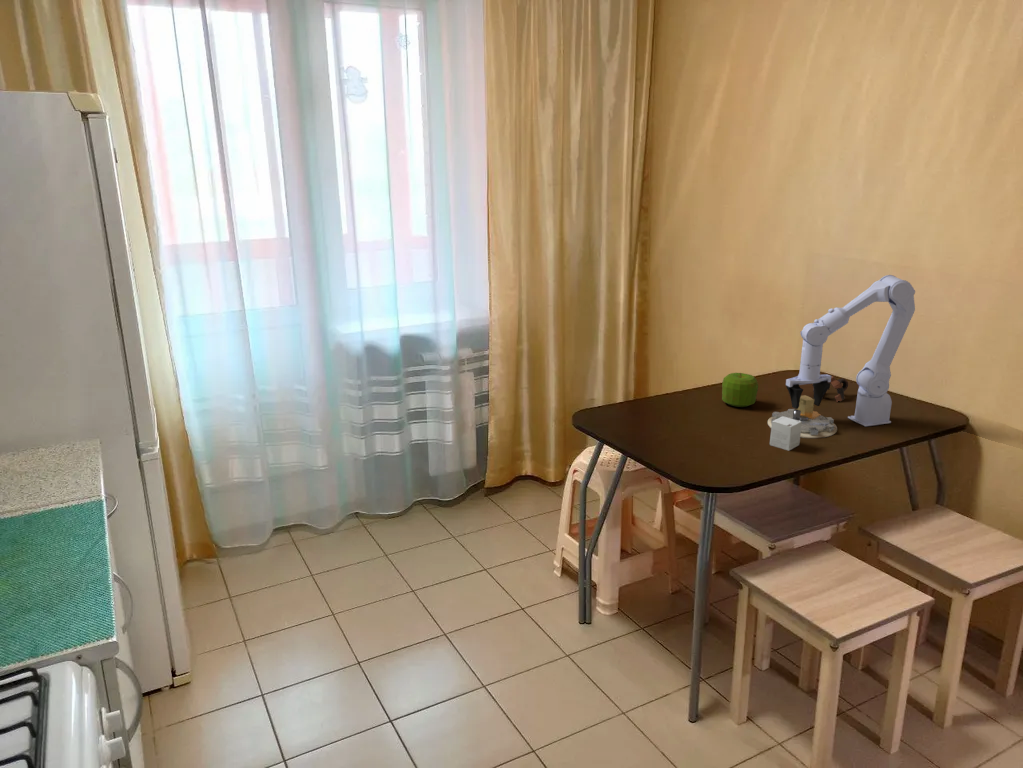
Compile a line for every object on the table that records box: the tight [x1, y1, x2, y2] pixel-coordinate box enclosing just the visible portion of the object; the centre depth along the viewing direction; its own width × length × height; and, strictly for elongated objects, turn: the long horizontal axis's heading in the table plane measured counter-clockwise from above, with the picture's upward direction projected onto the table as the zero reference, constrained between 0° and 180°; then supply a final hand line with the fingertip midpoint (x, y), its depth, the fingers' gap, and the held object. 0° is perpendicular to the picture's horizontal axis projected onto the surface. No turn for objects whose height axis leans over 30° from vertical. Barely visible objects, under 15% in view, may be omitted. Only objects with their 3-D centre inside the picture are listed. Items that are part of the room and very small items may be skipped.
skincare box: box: [769, 416, 802, 451], centre depth 210 cm, size 6×6×7 cm
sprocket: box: [771, 408, 835, 435], centre depth 224 cm, size 18×18×6 cm
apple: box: [721, 372, 759, 408], centre depth 242 cm, size 11×11×11 cm
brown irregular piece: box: [812, 375, 849, 403], centre depth 249 cm, size 12×10×8 cm
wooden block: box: [795, 394, 815, 416], centre depth 228 cm, size 4×3×5 cm
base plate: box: [767, 416, 838, 439], centre depth 225 cm, size 20×20×1 cm
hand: (805, 406), depth 227 cm, fingers open, 7 cm apart
